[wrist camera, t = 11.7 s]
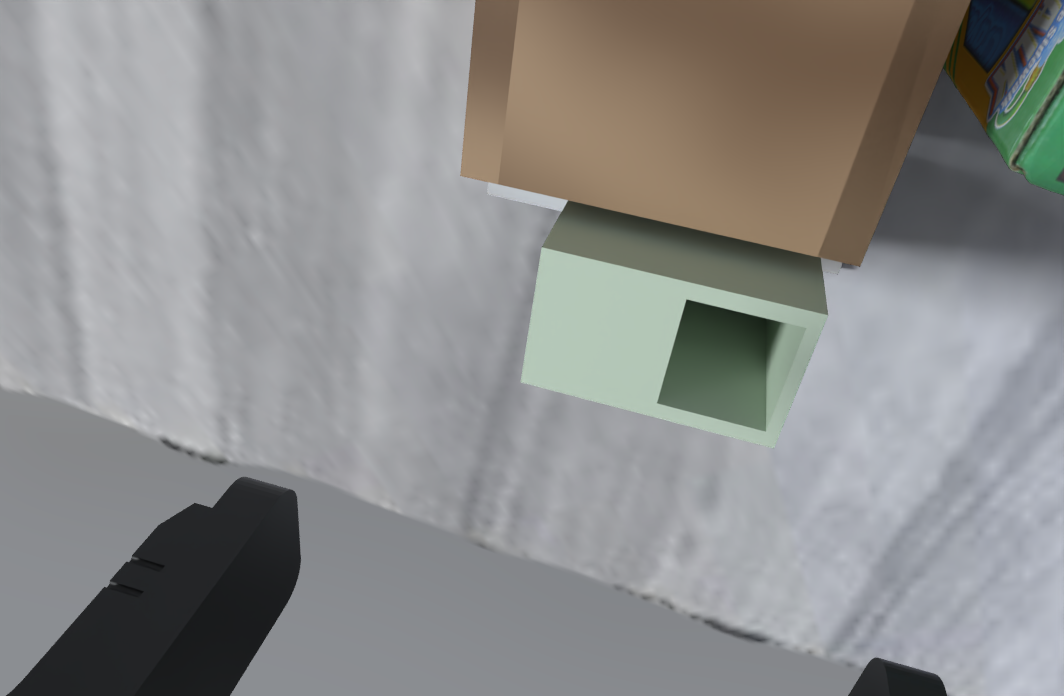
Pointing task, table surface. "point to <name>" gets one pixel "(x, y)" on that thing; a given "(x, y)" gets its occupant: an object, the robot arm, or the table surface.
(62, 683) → the robot arm
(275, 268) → the table surface
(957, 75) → the chalk box
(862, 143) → the small wooden cupboard
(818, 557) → the table surface
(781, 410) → the hollow square pipe
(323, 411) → the table surface
